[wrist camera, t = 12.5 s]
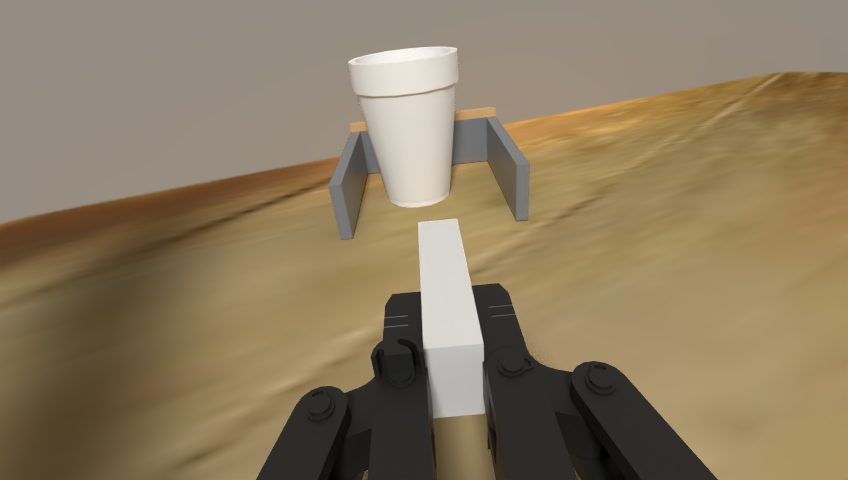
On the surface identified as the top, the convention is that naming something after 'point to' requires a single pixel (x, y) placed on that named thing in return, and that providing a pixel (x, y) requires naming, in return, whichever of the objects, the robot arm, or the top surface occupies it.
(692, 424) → the top surface
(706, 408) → the top surface
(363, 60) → the foam cup
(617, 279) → the top surface
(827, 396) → the top surface
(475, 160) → the box
